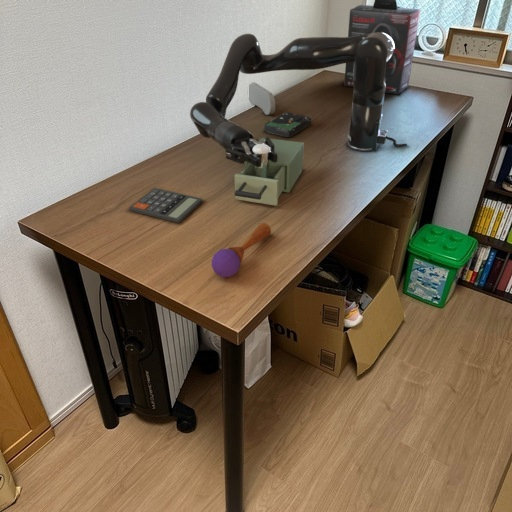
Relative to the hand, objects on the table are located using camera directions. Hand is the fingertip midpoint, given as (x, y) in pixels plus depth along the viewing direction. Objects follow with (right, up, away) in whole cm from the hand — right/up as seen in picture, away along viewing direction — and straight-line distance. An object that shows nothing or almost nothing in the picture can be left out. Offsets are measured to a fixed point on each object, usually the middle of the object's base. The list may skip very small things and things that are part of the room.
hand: (267, 161), depth 123 cm
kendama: (-6, -24, -13) cm, 28 cm away
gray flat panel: (-1, +32, +63) cm, 70 cm away
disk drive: (+8, +20, +47) cm, 52 cm away
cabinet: (+2, -2, +17) cm, 17 cm away
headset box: (+47, +47, +83) cm, 106 cm away
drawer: (-2, -8, +7) cm, 11 cm away
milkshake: (-1, -4, +6) cm, 7 cm away
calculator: (-26, -11, +5) cm, 29 cm away
